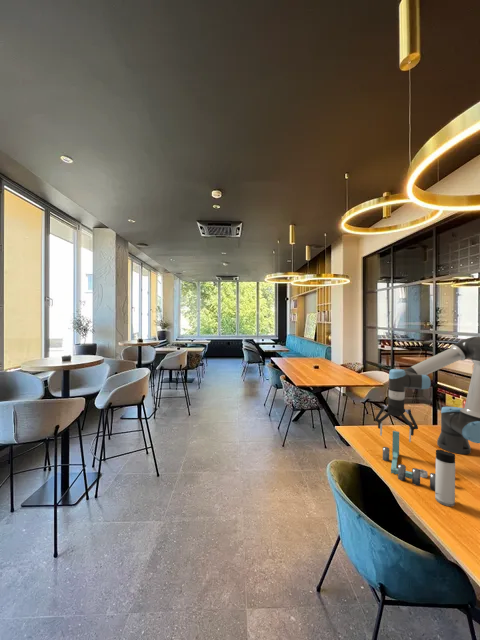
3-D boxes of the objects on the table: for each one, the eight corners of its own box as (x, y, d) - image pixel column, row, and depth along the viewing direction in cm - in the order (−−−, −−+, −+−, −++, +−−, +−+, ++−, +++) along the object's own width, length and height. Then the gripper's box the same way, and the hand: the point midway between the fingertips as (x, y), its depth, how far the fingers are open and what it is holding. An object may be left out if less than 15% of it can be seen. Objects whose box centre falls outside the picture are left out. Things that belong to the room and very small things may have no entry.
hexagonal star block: (427, 474, 130) (427, 470, 130) (427, 479, 126) (427, 475, 126) (417, 472, 132) (417, 467, 132) (417, 476, 128) (417, 472, 128)
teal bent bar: (392, 452, 151) (392, 430, 151) (413, 457, 146) (413, 434, 146) (389, 472, 131) (389, 447, 131) (413, 479, 126) (413, 452, 126)
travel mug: (433, 501, 110) (434, 451, 110) (437, 494, 114) (437, 446, 114) (453, 509, 105) (453, 456, 105) (456, 501, 110) (456, 451, 110)
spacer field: (443, 472, 132) (443, 459, 132) (447, 494, 115) (447, 479, 115) (382, 457, 145) (383, 446, 145) (379, 475, 128) (379, 462, 128)
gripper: (370, 395, 152) (368, 434, 152) (424, 404, 139) (423, 446, 139) (371, 393, 159) (370, 430, 159) (423, 401, 146) (422, 441, 146)
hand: (395, 437), depth 149 cm, fingers open, 13 cm apart
